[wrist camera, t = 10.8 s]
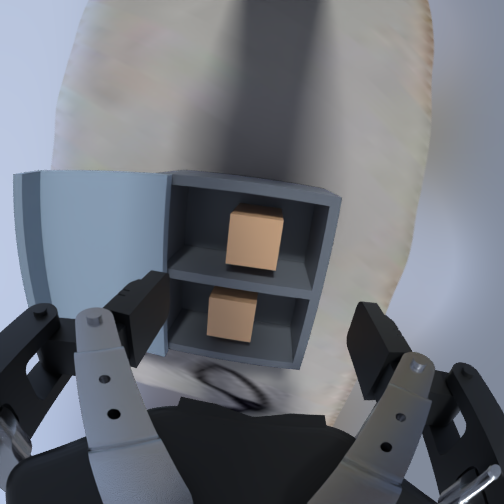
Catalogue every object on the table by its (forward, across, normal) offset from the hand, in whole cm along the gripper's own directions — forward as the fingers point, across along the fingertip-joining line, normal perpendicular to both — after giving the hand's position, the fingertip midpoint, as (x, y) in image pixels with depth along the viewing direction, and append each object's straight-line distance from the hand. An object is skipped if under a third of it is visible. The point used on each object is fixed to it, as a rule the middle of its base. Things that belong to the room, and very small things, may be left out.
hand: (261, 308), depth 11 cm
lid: (+10, +15, +4) cm, 18 cm away
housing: (+18, +2, +4) cm, 18 cm away
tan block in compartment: (+16, +2, +8) cm, 18 cm away
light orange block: (+16, +1, 0) cm, 17 cm away
